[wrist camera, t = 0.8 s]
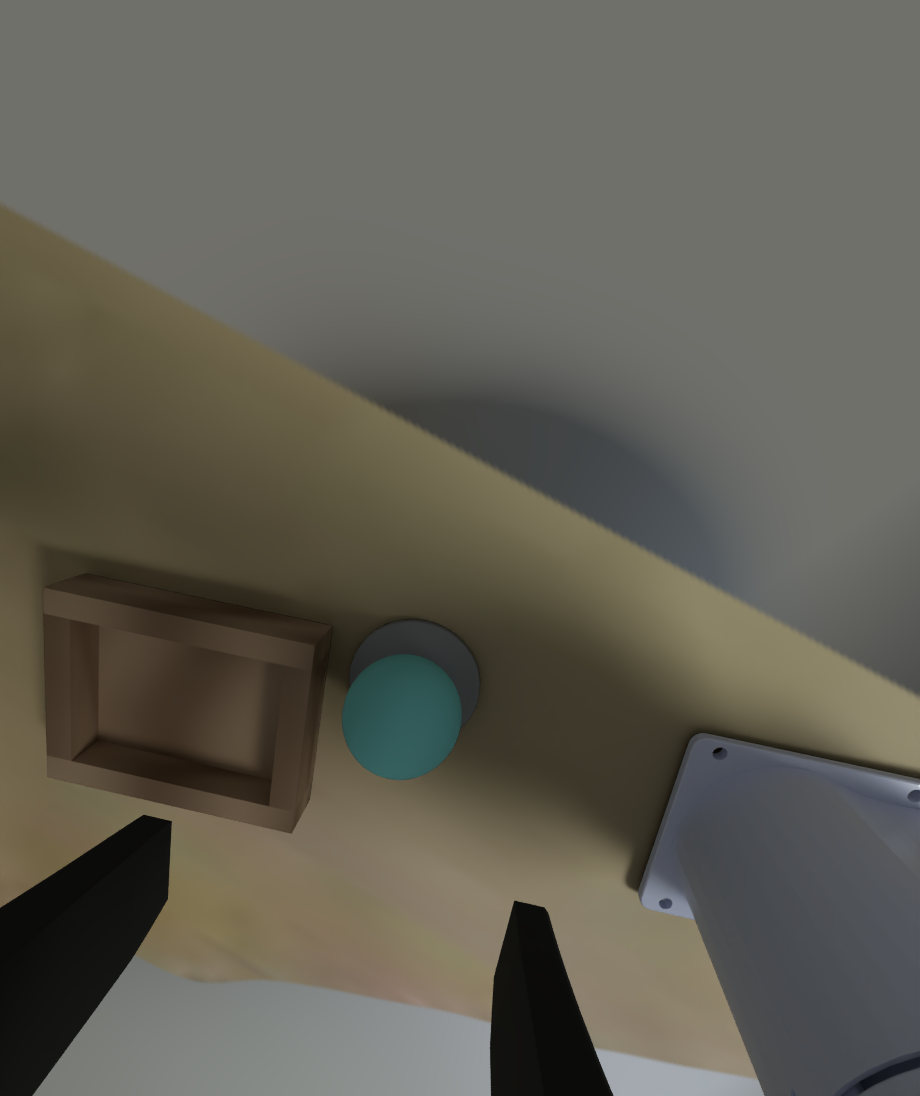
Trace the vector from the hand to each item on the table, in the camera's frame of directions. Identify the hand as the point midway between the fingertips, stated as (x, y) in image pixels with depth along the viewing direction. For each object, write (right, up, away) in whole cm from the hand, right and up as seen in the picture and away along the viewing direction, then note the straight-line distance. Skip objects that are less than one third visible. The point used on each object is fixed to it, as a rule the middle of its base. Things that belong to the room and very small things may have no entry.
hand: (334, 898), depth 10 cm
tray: (-8, +1, +10) cm, 13 cm away
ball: (+1, +2, +8) cm, 9 cm away
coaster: (+1, +2, +9) cm, 9 cm away
